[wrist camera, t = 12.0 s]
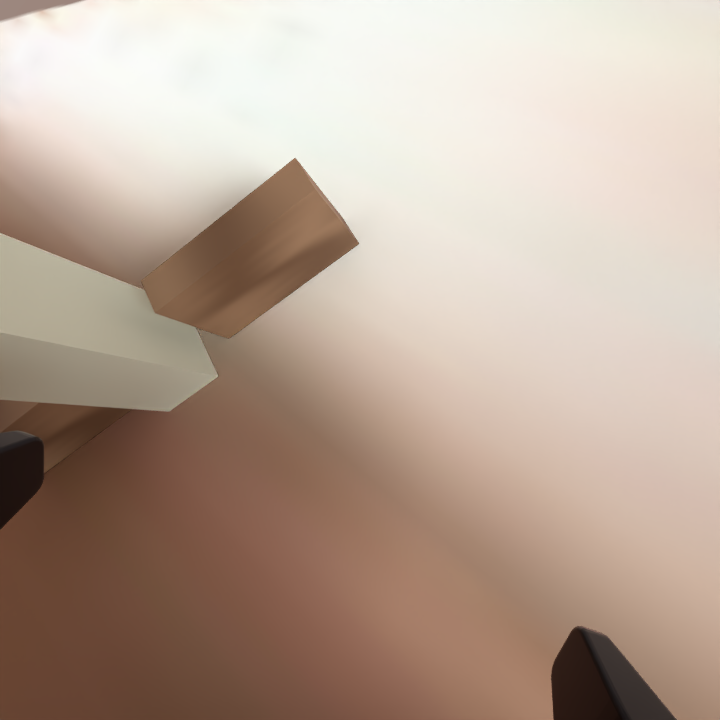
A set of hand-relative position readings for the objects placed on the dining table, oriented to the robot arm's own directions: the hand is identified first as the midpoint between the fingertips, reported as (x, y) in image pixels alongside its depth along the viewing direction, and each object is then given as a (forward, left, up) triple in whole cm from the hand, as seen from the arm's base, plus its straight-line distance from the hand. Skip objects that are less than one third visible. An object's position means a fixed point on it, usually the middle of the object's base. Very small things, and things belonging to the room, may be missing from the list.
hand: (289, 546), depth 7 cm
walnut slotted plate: (+2, +12, -10) cm, 16 cm away
